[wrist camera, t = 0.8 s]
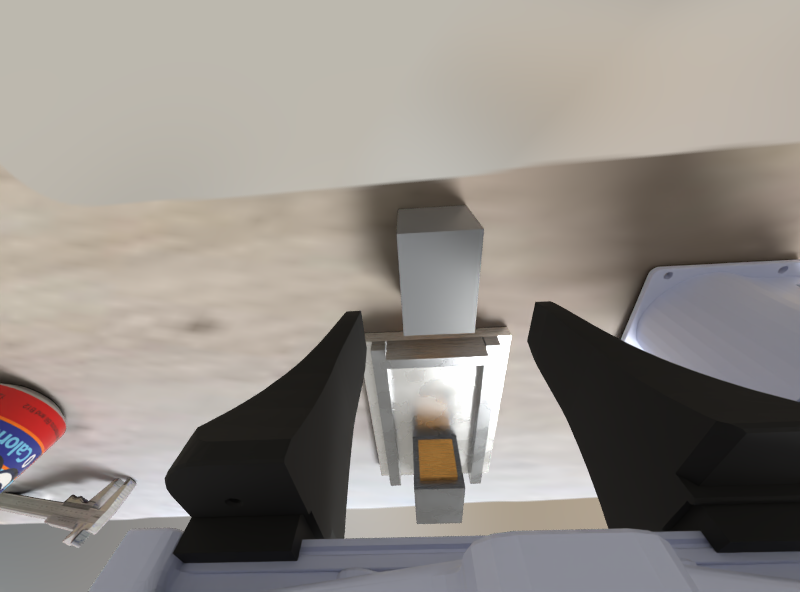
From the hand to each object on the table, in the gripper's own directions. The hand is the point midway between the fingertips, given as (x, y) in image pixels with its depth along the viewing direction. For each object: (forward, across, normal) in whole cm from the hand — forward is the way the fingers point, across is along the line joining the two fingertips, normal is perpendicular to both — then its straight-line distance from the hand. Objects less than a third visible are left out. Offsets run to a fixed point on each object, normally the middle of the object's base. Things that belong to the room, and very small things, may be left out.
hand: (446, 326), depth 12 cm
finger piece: (+8, 0, 0) cm, 8 cm away
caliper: (+8, +44, +27) cm, 52 cm away
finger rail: (+8, 0, +15) cm, 17 cm away
